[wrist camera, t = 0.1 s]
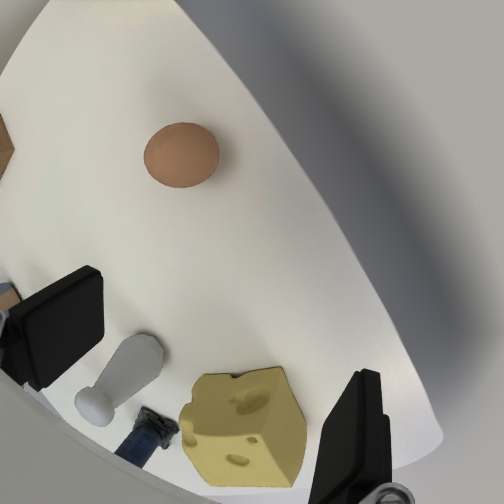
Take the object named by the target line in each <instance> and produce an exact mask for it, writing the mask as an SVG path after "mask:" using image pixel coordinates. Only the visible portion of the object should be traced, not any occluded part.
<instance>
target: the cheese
mask: <svg viewBox="0 0 504 504" xmlns="http://www.w3.org/2000/svg"><path fill="white" fill-rule="evenodd" d="M191 392H192V402H191V403H188V404H185V406H184V407H183V409H182V410H181V413H180V416H179V423H180V426H181V428H182V446H183V450H184V452H185V454H186V455H187V457H188V458H189V460H190V461H191V462H192V464H193V466H194V467H195V469H196V470H197V472H198V473H199V475H200V476H201V477H202V478H203V480H204V481H206V482H207V483H208V484H209V485H210V486H215V487H290V488H291V487H292V486H293V484H294V482H295V480H296V478H297V476H298V474H299V472H300V469H301V466H302V463H303V459H304V454H305V449H306V442H307V429H306V422H305V420H304V417H303V415H302V413H301V410H300V408H299V406H298V404H297V402H296V400H295V398H294V396H293V394H292V392H291V390H290V387H289V385H288V382H287V380H286V377H285V374H284V372H283V369H282V368H281V367H276V368H270V369H264V370H258V371H252V372H247V373H246V374H244V375H242V376H240V377H238V378H232V376H231V375H230V374H216V375H203V376H202V377H200V378H199V379H198V380H197V381H196V383H195V384H194V386H193V388H192V391H191Z"/></svg>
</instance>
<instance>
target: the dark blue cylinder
mask: <svg viewBox="0 0 504 504" xmlns="http://www.w3.org/2000/svg"><path fill="white" fill-rule="evenodd" d="M157 418H158V417H157V415H156V414H154V413H153V412H149V411H147V410H145V409H144V408H143V407H141V409H140V412H139V414H138V418H137V419H136V421H135V424H134V426H133V431H132V432H131V433H130V434H129V435H128V437H127V438H126V439H125V440H124V441H123V443H122V444H121V445H120V446H119V447H118V449H117V450H116V451H115V452H114V454H116V455H117V456H119V457H121V458H122V459H124V460H126V461H128V462H130V463H131V464H133V465H135V466H137V467H139V468H141V469H142V468H143V466H144V465H145V464H146V462H147V461H148V459H149V458H150V457H151V455H152V454H153V452H154V451H155V449H156V448H157V447H158V446H161V447H162V449H164V450H165V449H167V448H168V447H169V444H168V443H169V441H170V440H171V438H172V436H173V435H174V434H177V433H178V431H179V430H178V429H177V430H175V428H176V425H175V423H174V422H171V420H170V421H168V420H167V419H166V420H165V421H164V423H165V424H163V425H162V424H161V423H162V422H160V421H157Z"/></svg>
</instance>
